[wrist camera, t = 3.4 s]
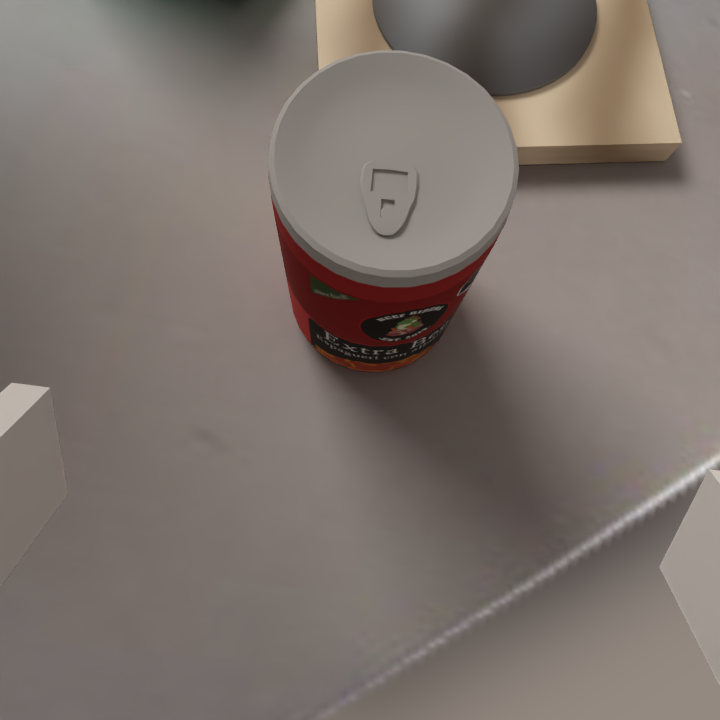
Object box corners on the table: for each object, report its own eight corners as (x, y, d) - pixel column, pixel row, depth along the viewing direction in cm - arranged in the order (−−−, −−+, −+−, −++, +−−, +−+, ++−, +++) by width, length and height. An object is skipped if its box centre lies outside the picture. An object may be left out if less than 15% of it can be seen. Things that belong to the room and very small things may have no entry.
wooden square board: (323, 169, 30) (322, 147, 28) (310, -94, 35) (309, -127, 33) (665, 161, 31) (685, 138, 29) (605, -94, 36) (618, -126, 34)
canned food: (305, 390, 26) (287, 298, 16) (279, 234, 29) (248, 61, 18) (468, 362, 27) (554, 256, 17) (431, 211, 29) (486, 33, 19)
